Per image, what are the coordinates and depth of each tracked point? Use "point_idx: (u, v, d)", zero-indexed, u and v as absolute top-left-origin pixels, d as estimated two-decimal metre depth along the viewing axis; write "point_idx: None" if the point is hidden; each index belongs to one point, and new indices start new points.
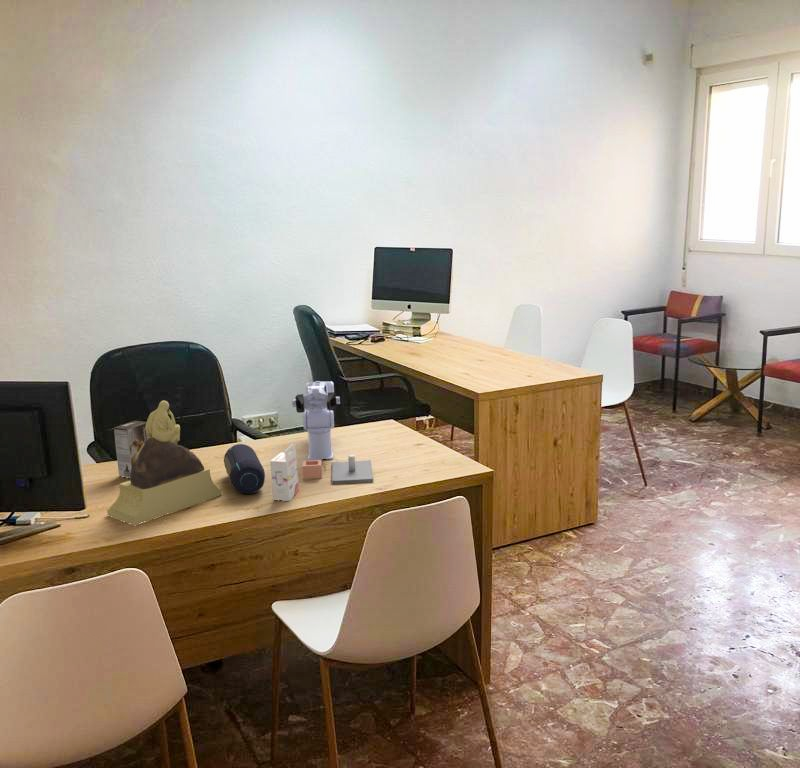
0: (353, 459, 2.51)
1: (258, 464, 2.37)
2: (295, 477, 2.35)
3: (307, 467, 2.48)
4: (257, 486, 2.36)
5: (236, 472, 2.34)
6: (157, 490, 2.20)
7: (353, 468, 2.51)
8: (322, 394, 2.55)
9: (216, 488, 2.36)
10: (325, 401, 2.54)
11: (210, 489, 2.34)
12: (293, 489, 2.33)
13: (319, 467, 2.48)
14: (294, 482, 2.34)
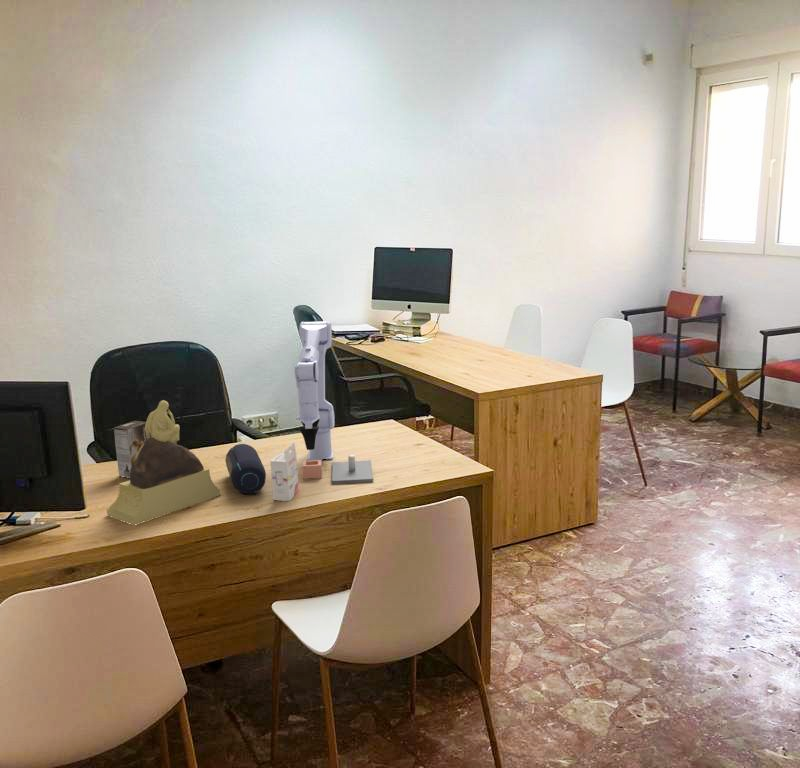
0: (353, 459, 2.51)
1: (259, 464, 2.37)
2: (295, 477, 2.35)
3: (307, 467, 2.48)
4: (258, 486, 2.36)
5: (237, 472, 2.34)
6: (156, 490, 2.20)
7: (353, 468, 2.51)
8: (302, 420, 2.46)
9: (216, 488, 2.36)
10: None
11: (209, 489, 2.34)
12: (293, 489, 2.33)
13: (319, 467, 2.48)
14: (294, 482, 2.34)
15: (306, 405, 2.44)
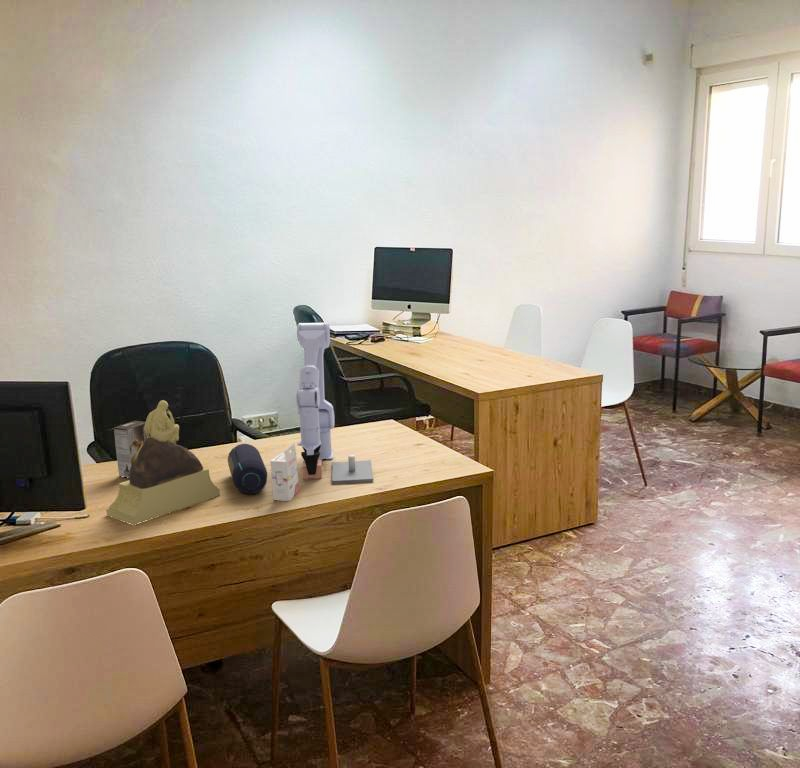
0: (353, 459, 2.51)
1: (260, 464, 2.37)
2: (295, 477, 2.35)
3: None
4: (259, 486, 2.35)
5: (238, 472, 2.34)
6: (156, 490, 2.20)
7: (353, 468, 2.51)
8: None
9: (215, 488, 2.36)
10: None
11: (209, 489, 2.34)
12: (293, 489, 2.33)
13: (319, 467, 2.48)
14: (294, 482, 2.34)
15: (308, 431, 2.46)
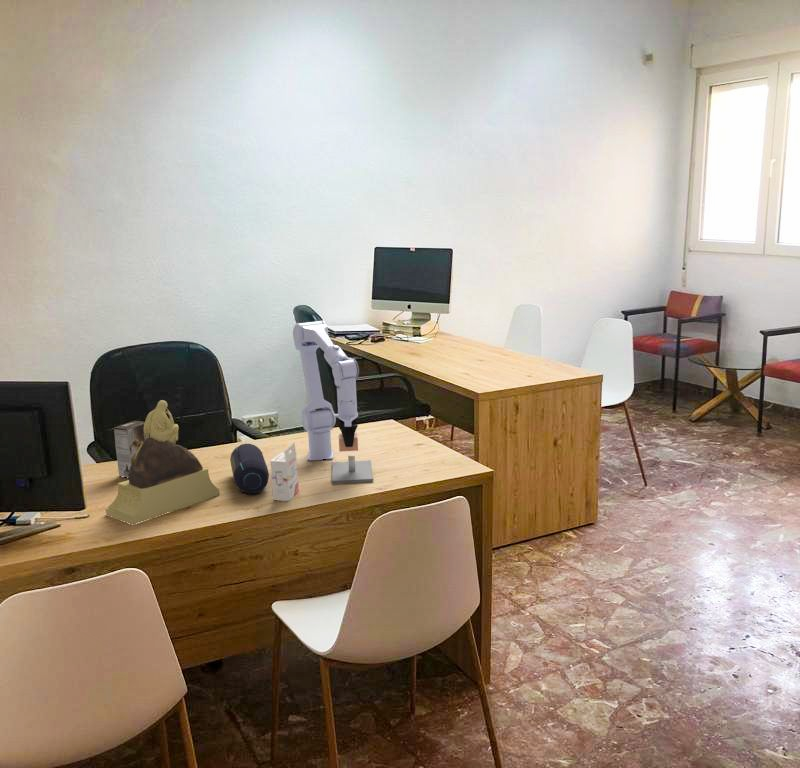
0: (353, 459, 2.51)
1: (262, 464, 2.37)
2: (295, 477, 2.35)
3: (343, 439, 2.47)
4: (260, 486, 2.35)
5: (239, 472, 2.34)
6: (155, 490, 2.21)
7: (353, 468, 2.51)
8: (340, 418, 2.46)
9: (214, 488, 2.36)
10: None
11: (208, 489, 2.34)
12: (293, 489, 2.33)
13: (355, 439, 2.47)
14: (294, 482, 2.34)
15: (345, 403, 2.45)
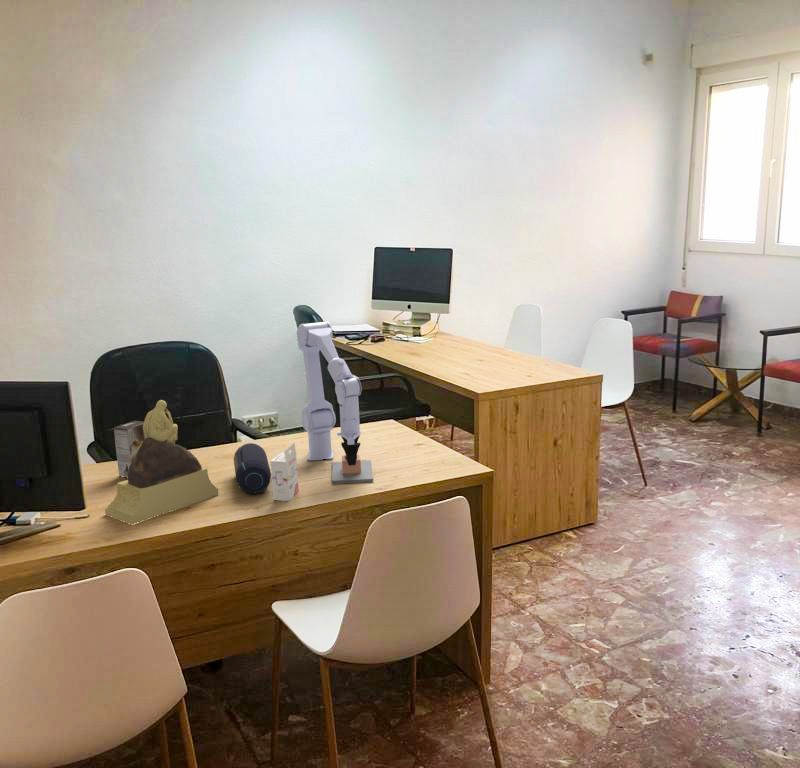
0: None
1: (264, 464, 2.37)
2: (295, 477, 2.35)
3: (347, 462, 2.49)
4: (262, 486, 2.35)
5: (241, 472, 2.34)
6: (154, 490, 2.21)
7: None
8: None
9: (214, 487, 2.36)
10: None
11: (207, 488, 2.34)
12: (293, 489, 2.33)
13: (358, 462, 2.49)
14: (294, 482, 2.34)
15: (348, 421, 2.46)
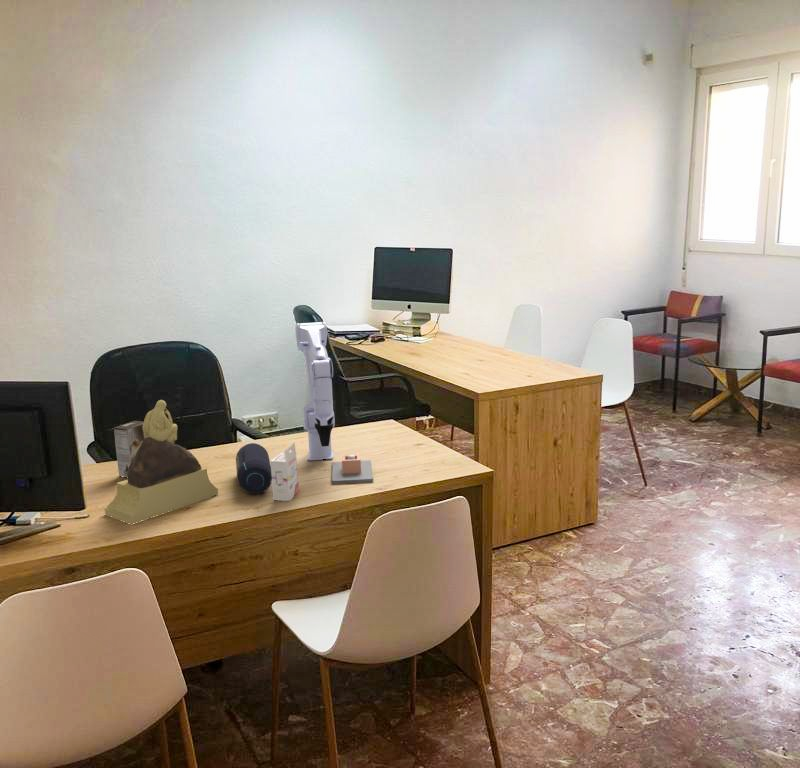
0: None
1: (265, 464, 2.36)
2: (295, 477, 2.35)
3: (347, 462, 2.49)
4: (263, 486, 2.35)
5: (242, 472, 2.34)
6: (154, 489, 2.21)
7: None
8: (316, 417, 2.49)
9: (213, 487, 2.36)
10: None
11: (207, 488, 2.35)
12: (293, 489, 2.33)
13: (358, 462, 2.49)
14: (294, 482, 2.34)
15: (321, 402, 2.47)
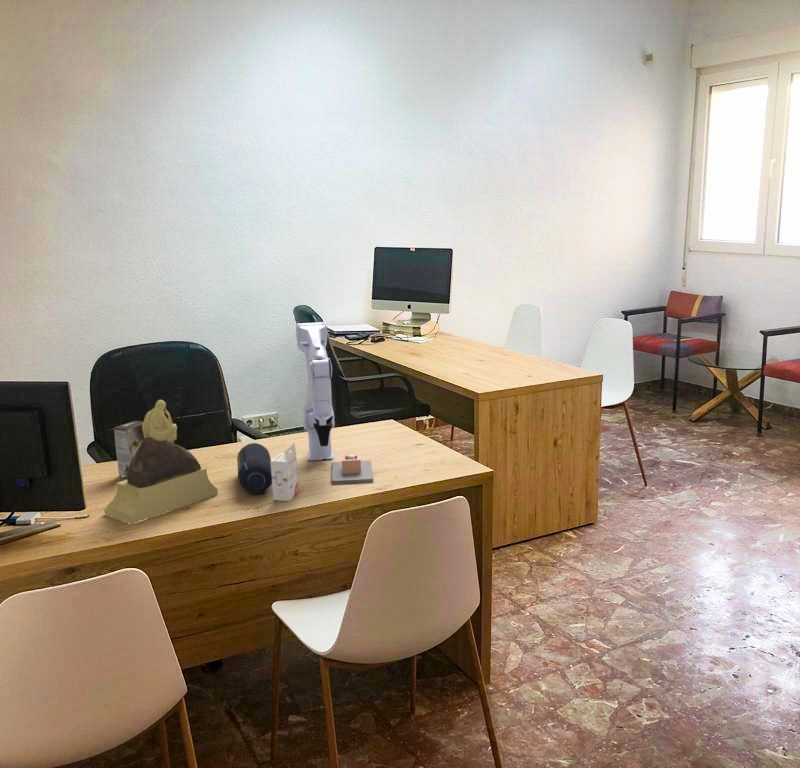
0: None
1: (266, 464, 2.36)
2: (295, 477, 2.35)
3: (347, 462, 2.49)
4: (264, 486, 2.35)
5: (243, 471, 2.34)
6: (153, 489, 2.21)
7: None
8: (315, 417, 2.49)
9: (213, 487, 2.36)
10: None
11: (206, 488, 2.35)
12: (293, 489, 2.33)
13: (358, 462, 2.49)
14: (294, 482, 2.34)
15: (320, 402, 2.47)
